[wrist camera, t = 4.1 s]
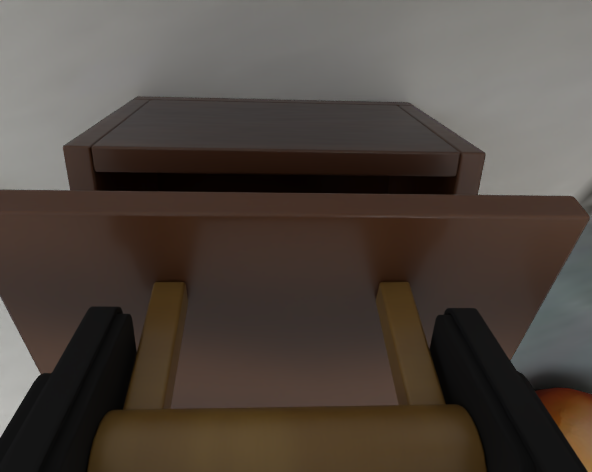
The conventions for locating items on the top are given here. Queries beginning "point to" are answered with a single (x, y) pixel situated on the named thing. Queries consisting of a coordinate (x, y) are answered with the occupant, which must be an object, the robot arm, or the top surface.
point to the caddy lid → (280, 316)
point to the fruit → (572, 418)
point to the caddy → (272, 149)
